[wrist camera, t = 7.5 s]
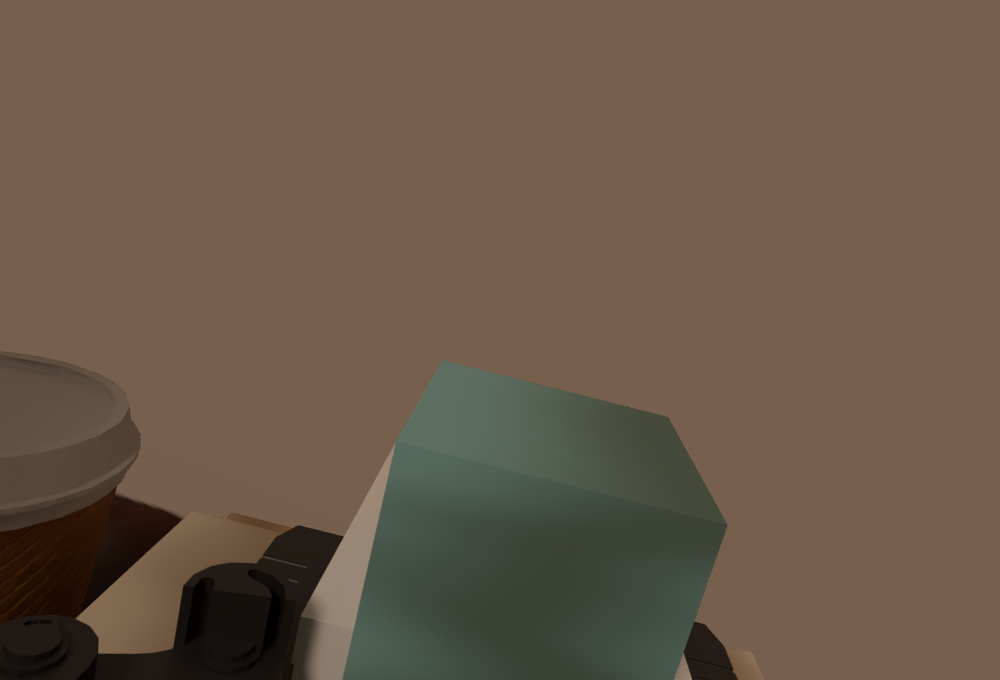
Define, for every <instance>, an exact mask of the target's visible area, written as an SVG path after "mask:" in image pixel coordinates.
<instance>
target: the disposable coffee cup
mask: <svg viewBox="0 0 1000 680" xmlns="http://www.w3.org/2000/svg"><path fill="white" fill-rule="evenodd" d="M139 449H140V433H139V431H138V429H137V428H136V426H135V424H134V422H133V421H131V416H130V409H129V404H128V401H127V397H126V394H125V392H124V391H123V390H122V389H121V388H120V387H118V386H117V385H116V384H115V383H114V382H113V381H111V380H109V379H107V378H105V377H103V376H102V375H99V374H97V373H95V372H92V371H89V370H86V369H83V368H81V367H78V366H75V365H72V364H69V363H66V362H61V361H57V360H52V359H48V358H43V357H38V356H32V355H24V354H18V353H11V352H1V351H0V624H1V623H4V622H8V621H11V620H15V619H18V618H22V617H25V616H38V615H58V616H65V617H71V618H75V619H76V618H77V617H78V616H79V615H80V614H81V611H82V608H83V603H84V600H85V596H86V593H87V589H88V586H89V582H90V579H91V576H92V571H93V568H94V565H95V561H96V557H97V554H98V551H99V547H100V544H101V540H102V537H103V533H104V530H105V527H106V523H107V520H108V516H109V513H110V509H111V505H112V502H113V499H114V496H115V491H116V488H117V485H118V484H119V483H121V481H122V479H123V477H124V476H125V473H126V472H127V470H128V469H129V468H130V467H131V465H132V464H133V462H134V461H135V460H136V458H137V456H138V453H139Z"/></svg>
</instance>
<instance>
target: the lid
mask: <svg viewBox="0 0 1000 680" xmlns="http://www.w3.org/2000/svg"><path fill="white" fill-rule="evenodd" d="M726 528H727V523H726V521H725V519H724V518H723V516H722V514H721V512H720V510H719V509H718V507H717V505H716V503H715V501H714V500H713V498H712V496H711V494H710V492H709V491H708V489H707V487H706V485H705V483H704V482H703V480H702V478H701V476H700V474H699V472H698V471H697V469H696V467H695V465H694V463H693V461H692V460H691V458H690V456H689V454H688V452H687V451H686V449H685V447H684V445H683V443H682V442H681V440H680V438H679V436H678V435H677V433H676V431H675V429H674V427H673V425H672V423H671V422H670V420H669V418H668V417H665V416H662V415H658V414H653V413H650V412H645V411H641V410H638V409H634V408H630V407H626V406H622V405H618V404H614V403H610V402H606V401H602V400H598V399H594V398H590V397H586V396H582V395H578V394H575V393H570V392H567V391H562V390H559V389H555V388H551V387H547V386H543V385H539V384H535V383H531V382H527V381H523V380H519V379H515V378H511V377H507V376H503V375H499V374H496V373H491V372H488V371H484V370H480V369H476V368H471V367H468V366H464V365H460V364H456V363H452V362H448V361H444V360H443V361H442V362H441V364H440V366H439V367H438V369H437V371H436V373H435V374H434V376H433V378H432V379H431V381H430V383H429V385H428V386H427V388H426V390H425V392H424V393H423V395H422V397H421V399H420V400H419V402H418V404H417V406H416V408H415V409H414V411H413V413H412V414H411V416H410V418H409V419H408V421H407V423H406V425H405V426H404V428H403V430H402V432H401V433H400V435H399V437H398V438H397V440H396V443H395V448H394V452H393V457H392V461H391V466H390V470H389V475H388V479H387V483H386V488H385V492H384V497H383V501H382V506H381V510H380V514H379V519H378V523H377V528H376V532H375V537H374V541H373V546H372V550H371V554H370V559H369V563H368V568H367V572H366V577H365V581H364V585H363V590H362V594H361V599H360V603H359V608H358V612H357V617H356V621H355V625H354V630H353V634H352V639H351V643H350V648H349V652H348V656H347V661H346V665H345V670H344V674H343V679H342V680H674V678H675V675H676V673H677V670H678V667H679V664H680V661H681V658H682V655H683V652H684V649H685V647H686V644H687V641H688V638H689V635H690V632H691V629H692V626H693V623H694V621H695V618H696V615H697V612H698V609H699V606H700V603H701V600H702V597H703V595H704V592H705V589H706V585H707V583H708V580H709V577H710V574H711V571H712V568H713V566H714V563H715V560H716V557H717V554H718V551H719V548H720V545H721V542H722V540H723V536H724V534H725V531H726ZM281 534H282V533H279V532H275V531H271V530H267V529H263V528H259V527H255V526H252V525H248V524H244V523H240V522H236V521H232V520H228V519H224V518H220V517H216V516H212V515H208V514H204V513H200V512H196V511H192V512H190V513H189V514H188V515H187V516H186V517H185V518H184V519H183V520H182V521H181V522H180V523H179V524H177V525H176V526H175V527H174V528H173V529H172V530H171V531H170V532H169V533H168V534H167V535H166V536H164V537H163V538H162V539H161V540H160V541H159V542H158V543H157V544H156V545H155V546H154V547H153V548H151V549H150V550H149V551H148V552H147V553H146V554H145V555H144V556H143V557H142V558H141V559H140V560H138V561H137V562H136V563H135V564H134V565H133V566H132V567H131V568H130V569H129V570H128V571H127V572H125V573H124V574H123V575H122V576H121V577H120V578H119V579H118V580H117V581H116V582H115V583H114V584H112V585H111V586H110V587H109V588H108V589H107V590H106V591H105V592H104V593H103V594H102V595H101V596H99V597H98V598H97V599H96V600H95V601H94V602H93V603H92V604H91V605H90V606H89V607H88V608H86V609H85V610H84V611H83V612H82V613H81V614H80V615H79V616H78V617H77V618H76V619H77V620H79V621H81V622H83V623H85V624H87V625H89V626H90V627H91V628H92V629H93V631H94V632H95V633H96V635H97V636H98V638H99V648H98V653H108V654H140V653H154V652H160V651H164V650H169V649H172V647H173V645H174V639H175V633H176V627H177V621H178V615H179V609H180V602H181V596H182V590H183V585H184V584H185V583H186V582H187V581H188V580H189V579H190V578H191V577H192V576H193V575H194V574H195V573H197V572H199V571H202V570H204V569H206V568H208V567H210V566H214V565H219V564H225V563H230V562H237V563H254V564H256V563H257V562H258V560H259V559H260V558H262V556H263V554H264V552H265V551H266V549H267V548H268V547H269V545H270V544H271V543H272V541H273V540H274V539H275V537H277V536H279V535H281ZM724 647H725V649H726V652H727V654H728V657H729V659H730V662H731V664H732V666H733V673H735V674H736V676H737V679H738V680H764V678H763V676H762V674H761V672H760V670H759V667H758V665H757V663H756V661H755V659H754V656H753V654H752V653H750V652H747V651H743V650H739V649H735V648H731V647H727V646H724Z"/></svg>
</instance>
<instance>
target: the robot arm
mask: <svg viewBox="0 0 1000 680" xmlns="http://www.w3.org/2000/svg"><path fill="white" fill-rule="evenodd" d="M394 448H395V445H394V447H393V448H392V450H391V452H390V454H389V456H388V457H387V460H386V461H385V463H384V465H383V467H382V468H381V470H380V472H379V474H378V476H377V478H376V479H375V481H374V483H373V485H372V487H371V489H370V490H369V492H368V494H367V496H366V498H365V499H364V501H363V503H362V505H361V507H360V509H359V510H358V512H357V514H356V516H355V518H354V520H353V521H352V523H351V525H350V527H349V529H348V531H347V532H346V534H345V536H344V537H343V536H339V535H335V534H331V533H327V532H323V531H319V530H315V529H311V528H307V527H303V526H296V527H294V528H292V529H290V530H288V531H286V532H284V533H282V534H281V535H279V536H277V537H275V539H274V540H273V541H272V543H271V544H270V545H269V547H268V548H267V549H266V551H265V552H264V554H263V556H262V558H260V559H259V560H258V562H257V563H256V564H254V563H237V562H230V563H225V564H219V565H214V566H210V567H208V568H206V569H204V570H202V571H199V572H197V573H195V574H194V575H193V576H192V577H191V578H190V579H189V580H188V581H187V582H186V583H185V584H184V585H183V590H182V596H181V602H180V609H179V615H178V621H177V627H176V633H175V639H174V645H173V647H172V649H169V650H164V651H160V652H154V653H140V654H108V653H98V648H99V638H98V636H97V635H96V633H95V632H94V631H93V629H92V628H91V627H90V626H89V625H87V624H85V623H83V622H81V621H79V620H77V619H75V618H71V617H65V616H58V615H38V616H25V617H22V618H18V619H15V620H11V621H8V622H4V623H1V624H0V680H342V679H343V674H344V670H345V665H346V661H347V656H348V652H349V648H350V643H351V639H352V634H353V630H354V625H355V621H356V617H357V612H358V608H359V603H360V599H361V594H362V590H363V585H364V581H365V577H366V572H367V568H368V563H369V559H370V554H371V550H372V546H373V541H374V537H375V532H376V528H377V523H378V519H379V514H380V510H381V506H382V501H383V497H384V492H385V488H386V483H387V479H388V475H389V470H390V466H391V461H392V457H393V452H394ZM674 680H738V679H737V676H736V674H735V673H733V666H732V664H731V662H730V659H729V657H728V654H727V652H726V649H725V647H724V646H723V644H722V643H721V642H720V641H719V640H718V639H717V638H716V637H715V635H714V634H713V633H712V632H711V631H710V630H709V629H708V628H707V626H706V625H704V624H701V623H697V622H694V623H693V626H692V629H691V632H690V635H689V638H688V641H687V644H686V647H685V649H684V652H683V655H682V658H681V661H680V664H679V667H678V670H677V673H676V675H675V678H674Z"/></svg>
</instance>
